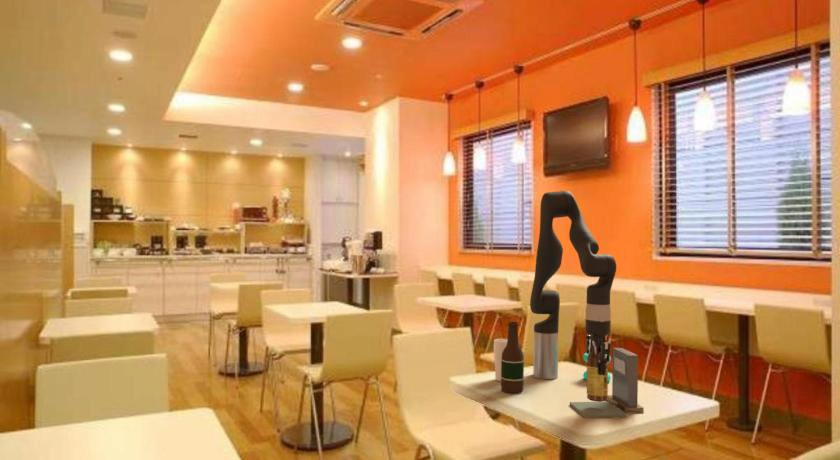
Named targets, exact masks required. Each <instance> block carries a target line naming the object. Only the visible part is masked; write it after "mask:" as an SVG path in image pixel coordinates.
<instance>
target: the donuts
mask: <svg viewBox="0 0 840 460" xmlns="http://www.w3.org/2000/svg"><path fill="white" fill-rule="evenodd" d="M588 355H589V354H587V352H585V353H584V354H583V356H582V358H583V360H584V361H585V362H586V363H587V362H588V361H587V358H588ZM606 357H607V354H606ZM611 360H612V357H611V356H610V359H609V362H608V364H609V363H610V362H611ZM582 377H583V379H584V380H585V381H587V370H585V371H583V374H582ZM611 379H612V376H611V374H610V373H609V372H608V382H610V380H611Z"/></svg>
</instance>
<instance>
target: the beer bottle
mask: <svg viewBox="0 0 840 460" xmlns="http://www.w3.org/2000/svg"><path fill="white" fill-rule="evenodd" d="M507 326H508V330H507V339H508V341H507V346H506V347H505V349H504V350H503V353H502V361H501V381H500V389H501V392H503V393H505V394H510V395H512V394H513V395H517V394H522V393H523V391H524V384H525V382H524V376H525V373H524V372H525V371H524V370H525V369H524V368H525V358H524V357H525V356H524V352H523V350H522V348H521V346H520V343H519V329H518V327H519V323H518V322H516V321H508V324H507Z"/></svg>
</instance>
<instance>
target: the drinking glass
mask: <svg viewBox="0 0 840 460" xmlns="http://www.w3.org/2000/svg"><path fill="white" fill-rule="evenodd" d="M507 341H508V338H496V339H494V340H493V357H494V358H493V360H494V361H493V362H494V373H495V374H494V375H495V377H494V378H495V381H498V382H501V361H502V353H503V350H504V349H505V347H506V346H507Z"/></svg>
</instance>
